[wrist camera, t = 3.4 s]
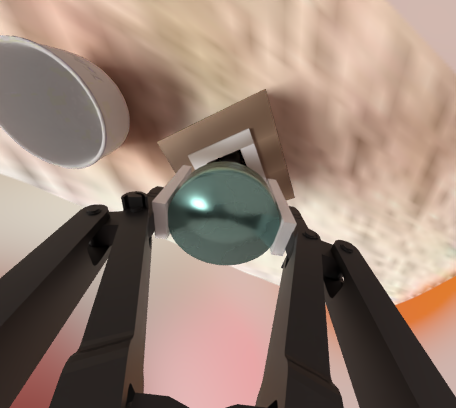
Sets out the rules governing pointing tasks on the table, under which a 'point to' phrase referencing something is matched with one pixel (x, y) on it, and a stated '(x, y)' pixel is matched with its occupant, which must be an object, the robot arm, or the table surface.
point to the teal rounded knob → (224, 213)
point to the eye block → (233, 141)
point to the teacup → (59, 104)
